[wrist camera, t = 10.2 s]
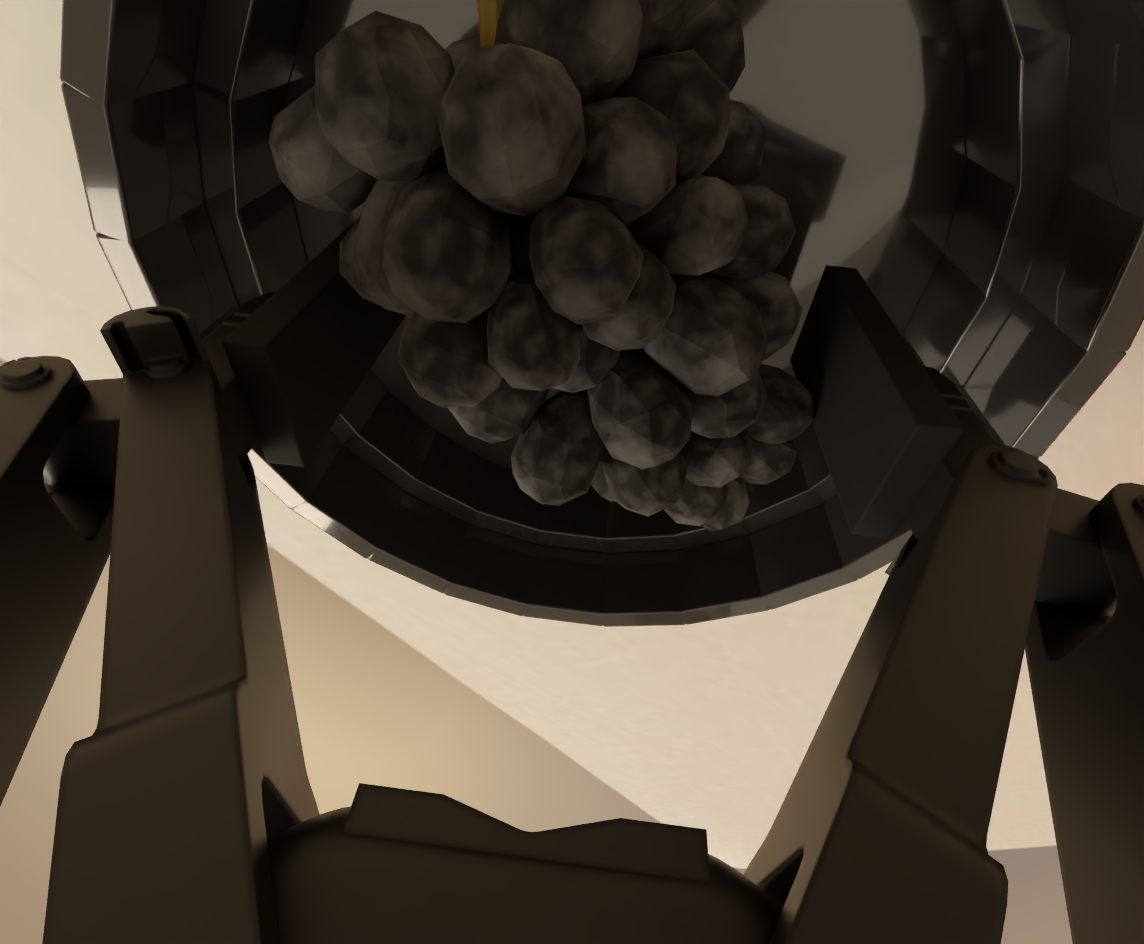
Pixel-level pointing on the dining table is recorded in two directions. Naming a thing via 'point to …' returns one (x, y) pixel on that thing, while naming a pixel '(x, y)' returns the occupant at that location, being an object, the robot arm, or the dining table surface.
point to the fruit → (569, 240)
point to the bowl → (823, 237)
